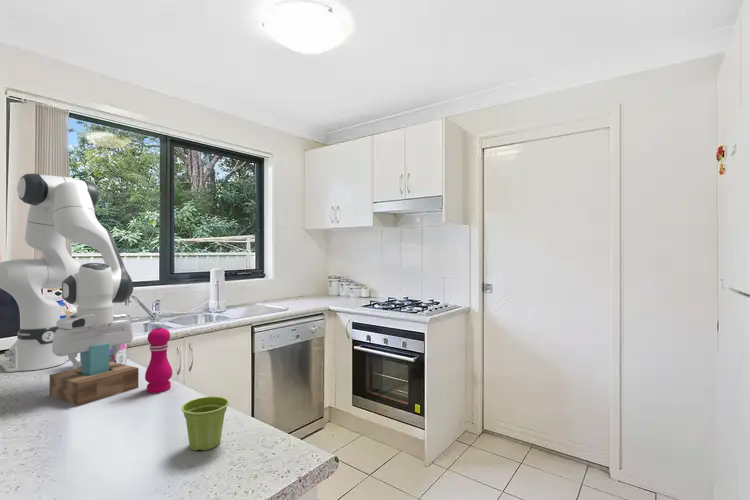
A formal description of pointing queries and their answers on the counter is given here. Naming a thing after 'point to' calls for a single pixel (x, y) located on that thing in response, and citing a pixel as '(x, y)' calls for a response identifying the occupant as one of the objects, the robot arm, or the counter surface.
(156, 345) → the pepper mill
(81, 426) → the counter surface
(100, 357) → the teal rectangular block
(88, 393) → the wooden holder
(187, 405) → the plant pot
